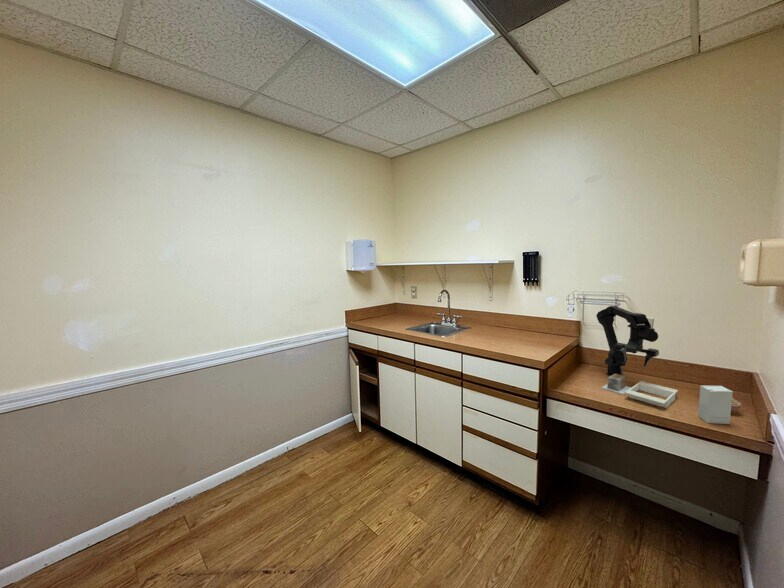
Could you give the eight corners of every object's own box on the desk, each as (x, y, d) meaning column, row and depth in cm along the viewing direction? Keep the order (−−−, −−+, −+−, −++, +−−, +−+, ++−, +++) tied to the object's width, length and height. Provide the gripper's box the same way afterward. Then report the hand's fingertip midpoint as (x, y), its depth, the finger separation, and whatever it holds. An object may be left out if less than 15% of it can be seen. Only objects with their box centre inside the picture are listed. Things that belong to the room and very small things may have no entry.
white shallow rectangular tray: (624, 399, 157) (624, 392, 156) (640, 387, 170) (640, 380, 169) (663, 410, 144) (664, 403, 144) (677, 396, 157) (678, 390, 157)
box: (607, 388, 169) (608, 377, 168) (614, 383, 174) (614, 373, 173) (618, 391, 165) (618, 380, 164) (624, 386, 170) (625, 376, 169)
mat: (601, 388, 170) (601, 387, 170) (610, 382, 177) (610, 381, 177) (622, 394, 162) (622, 393, 162) (631, 388, 169) (631, 387, 168)
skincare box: (718, 417, 137) (722, 385, 135) (730, 425, 131) (734, 391, 129) (696, 416, 139) (699, 384, 137) (707, 423, 133) (710, 390, 131)
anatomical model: (744, 418, 137) (745, 407, 136) (713, 413, 141) (714, 402, 141) (720, 396, 157) (721, 386, 156) (694, 392, 161) (694, 383, 161)
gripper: (610, 336, 172) (608, 363, 174) (652, 343, 157) (650, 373, 159) (618, 332, 179) (617, 359, 181) (660, 339, 164) (658, 368, 166)
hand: (634, 364), depth 171 cm, fingers open, 9 cm apart
